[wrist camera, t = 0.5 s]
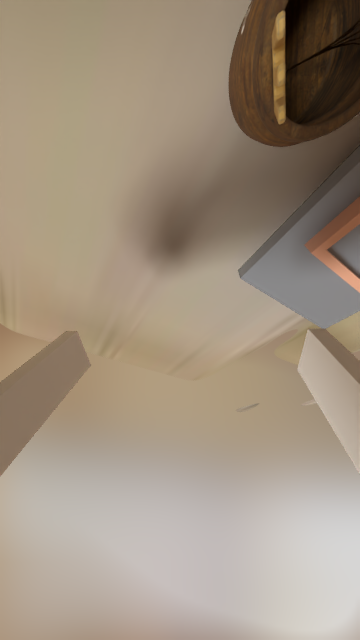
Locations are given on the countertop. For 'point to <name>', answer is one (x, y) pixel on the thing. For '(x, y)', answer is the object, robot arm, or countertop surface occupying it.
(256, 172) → the countertop surface
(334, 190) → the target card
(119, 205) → the countertop surface
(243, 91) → the utensil holder
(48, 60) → the countertop surface
